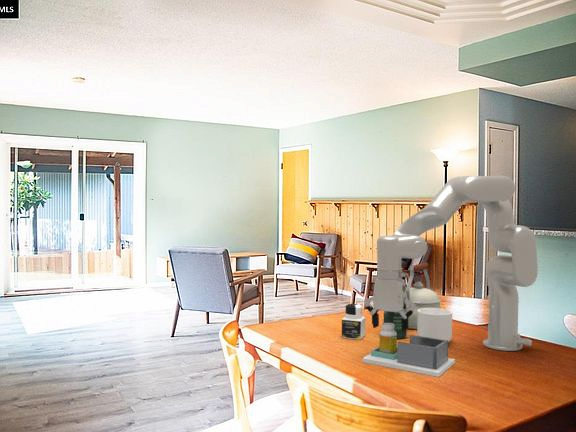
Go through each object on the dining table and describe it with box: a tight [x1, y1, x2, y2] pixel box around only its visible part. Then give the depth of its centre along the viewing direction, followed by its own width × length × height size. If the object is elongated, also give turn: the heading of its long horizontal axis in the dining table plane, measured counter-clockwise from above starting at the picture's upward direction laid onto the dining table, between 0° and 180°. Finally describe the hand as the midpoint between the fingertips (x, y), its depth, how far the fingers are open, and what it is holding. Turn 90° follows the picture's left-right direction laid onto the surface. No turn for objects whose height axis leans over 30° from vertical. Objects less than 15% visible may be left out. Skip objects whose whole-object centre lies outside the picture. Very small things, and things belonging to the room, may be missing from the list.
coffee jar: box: [383, 291, 408, 340], centre depth 196 cm, size 10×8×19 cm
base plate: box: [361, 346, 456, 378], centre depth 164 cm, size 24×16×3 cm, turn 56°
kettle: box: [406, 262, 442, 330], centre depth 212 cm, size 25×18×25 cm
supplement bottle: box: [378, 322, 398, 354], centre depth 168 cm, size 5×5×10 cm
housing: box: [397, 334, 449, 369], centre depth 161 cm, size 12×11×6 cm
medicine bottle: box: [341, 303, 366, 341], centre depth 194 cm, size 7×7×12 cm
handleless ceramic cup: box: [416, 308, 453, 343], centre depth 188 cm, size 12×12×11 cm
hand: (390, 328), depth 168 cm, fingers open, 9 cm apart
